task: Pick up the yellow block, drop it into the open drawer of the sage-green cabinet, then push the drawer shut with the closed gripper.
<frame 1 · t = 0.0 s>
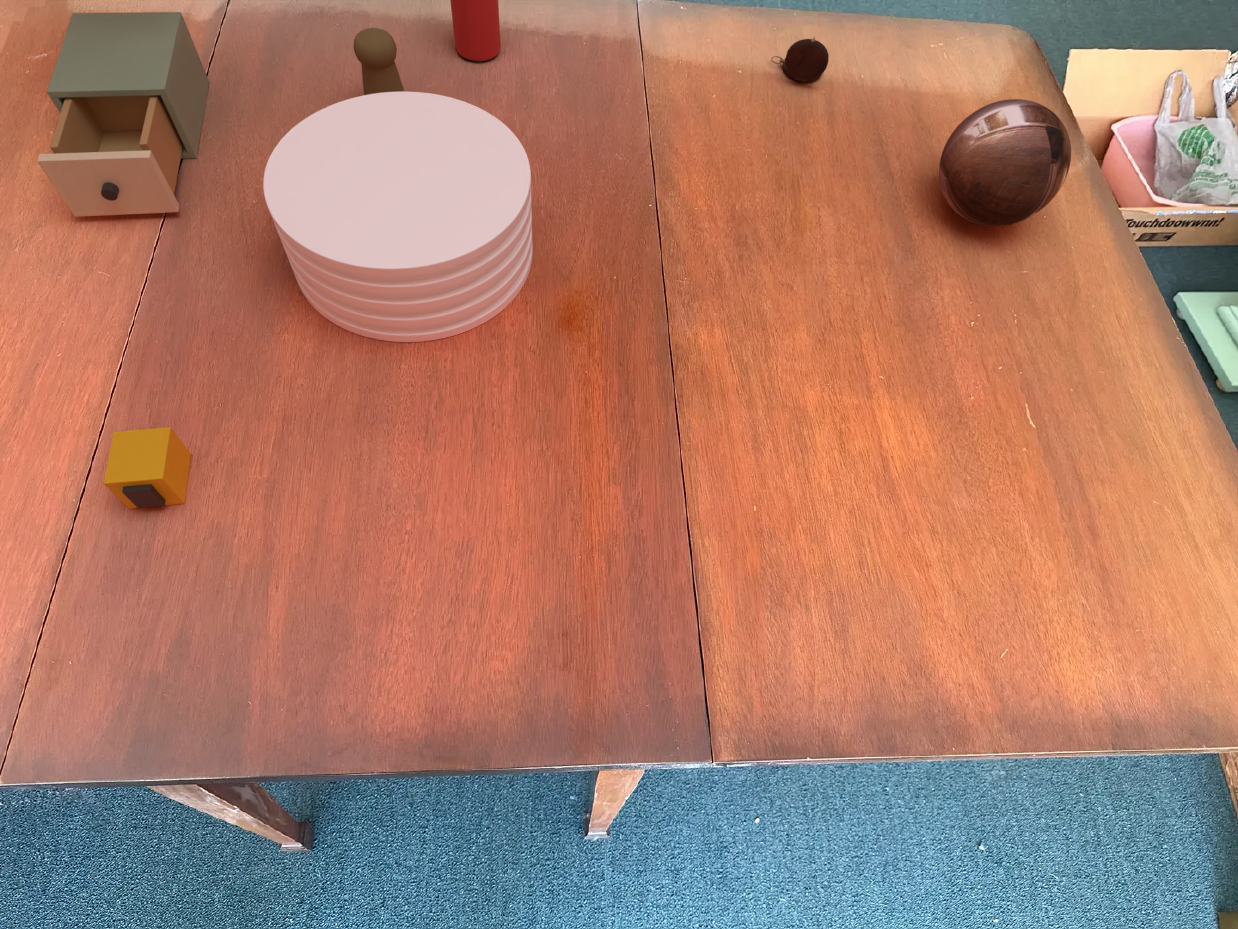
cabinet: (152, 120, 101), on the table
plate stack: (415, 252, 94), on the table
wooden sphere: (974, 211, 105), on the table
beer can: (478, 51, 115), on the table
drawer: (120, 149, 92), point 5 cm above the table, slide at 9.5 cm
compass: (794, 73, 118), on the table
brown knobbed cone: (388, 114, 106), on the table
yellow block: (160, 480, 76), on the table
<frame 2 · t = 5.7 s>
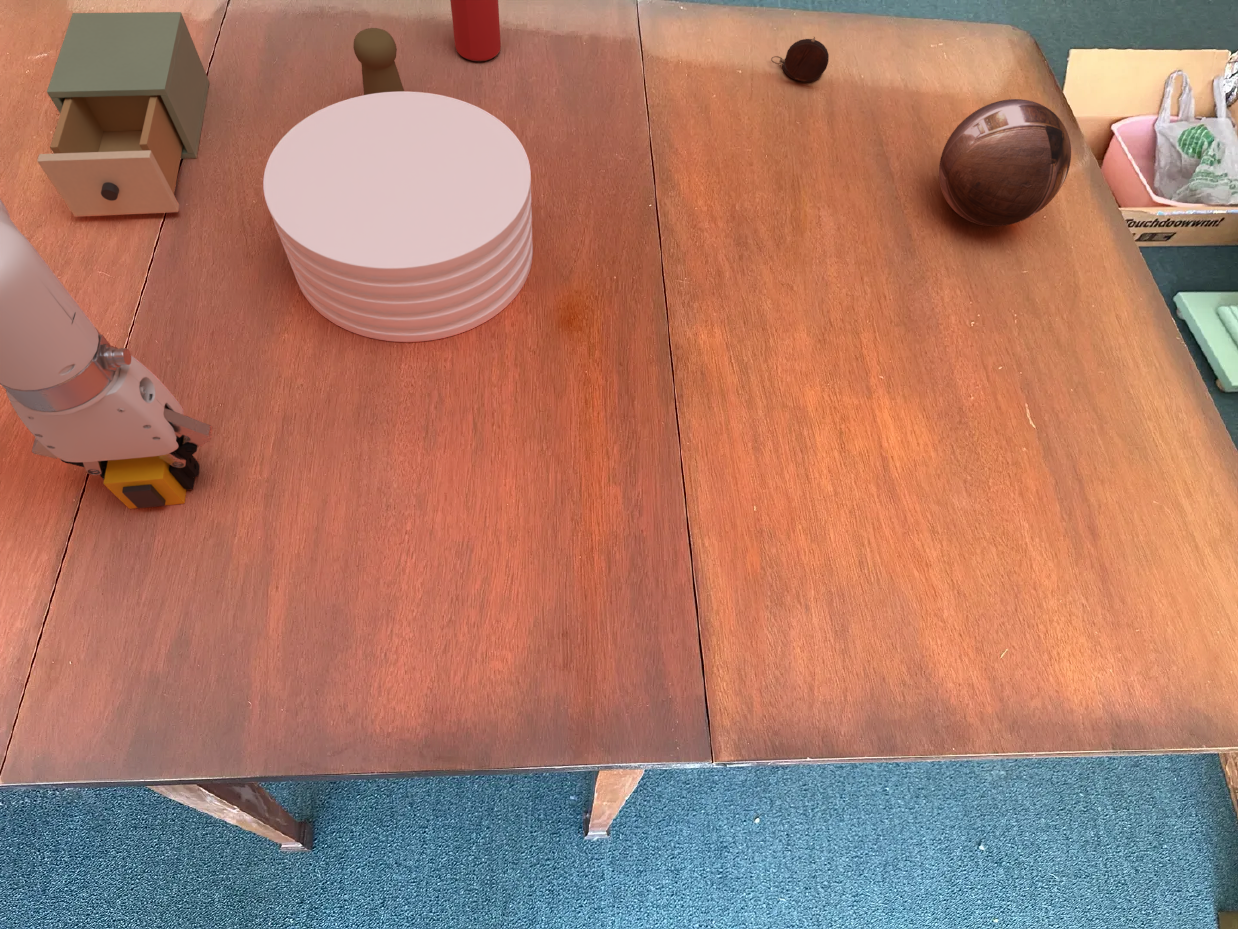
hand: (159, 478, 75), 0 cm above the table, tool pointing down, fingers closed on yellow block, 5 cm apart
yellow block: (160, 480, 76), on the table, touching gripper
everything else where it was.
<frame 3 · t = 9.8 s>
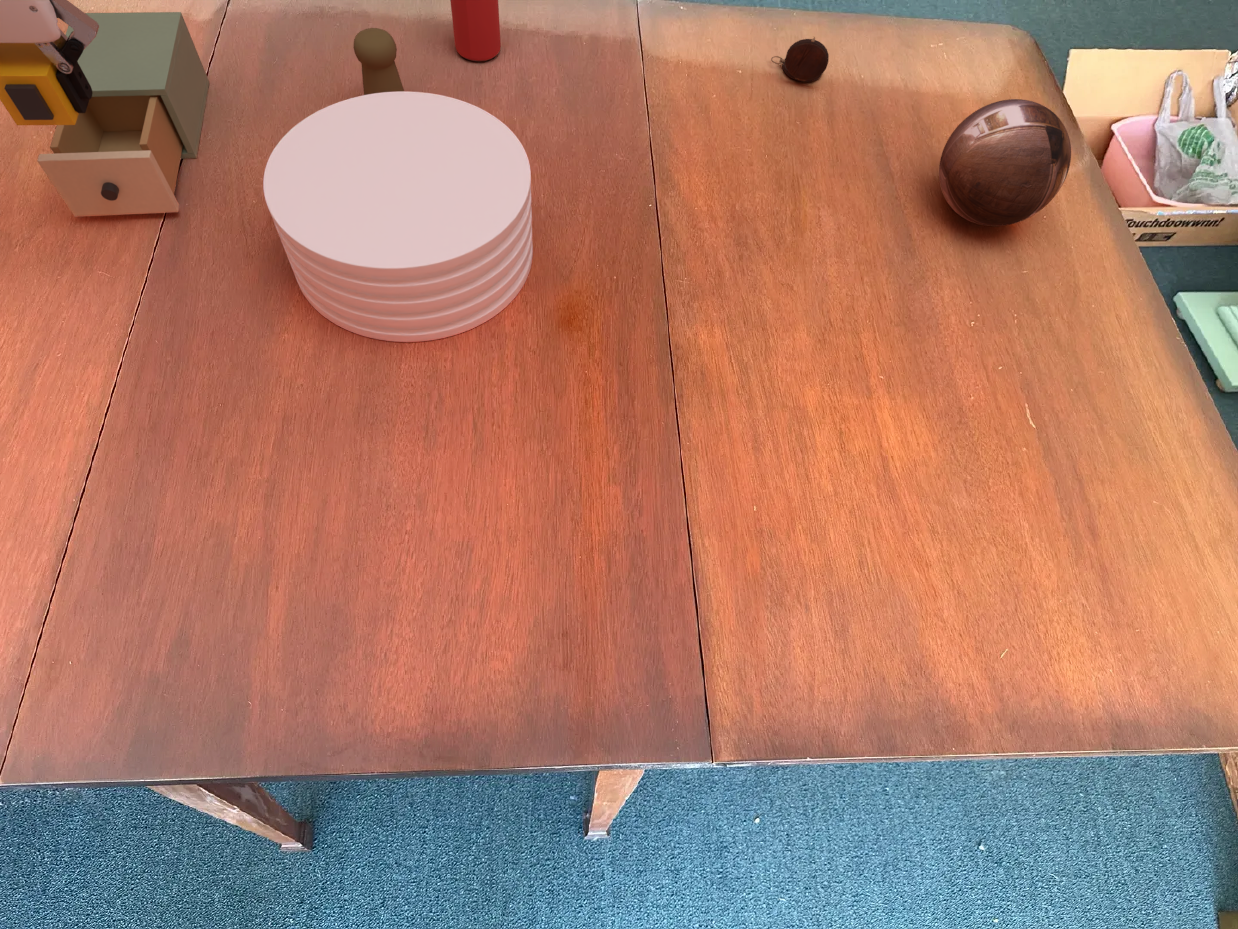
hand: (50, 102, 74), 19 cm above the table, tool pointing down, fingers closed on yellow block, 5 cm apart
yellow block: (53, 106, 74), point 19 cm above the table, touching gripper
everything else where it was.
when the fingers open (7 cm above the table, at t = 14.2 s): yellow block drops 4 cm, point 3 cm above the table.
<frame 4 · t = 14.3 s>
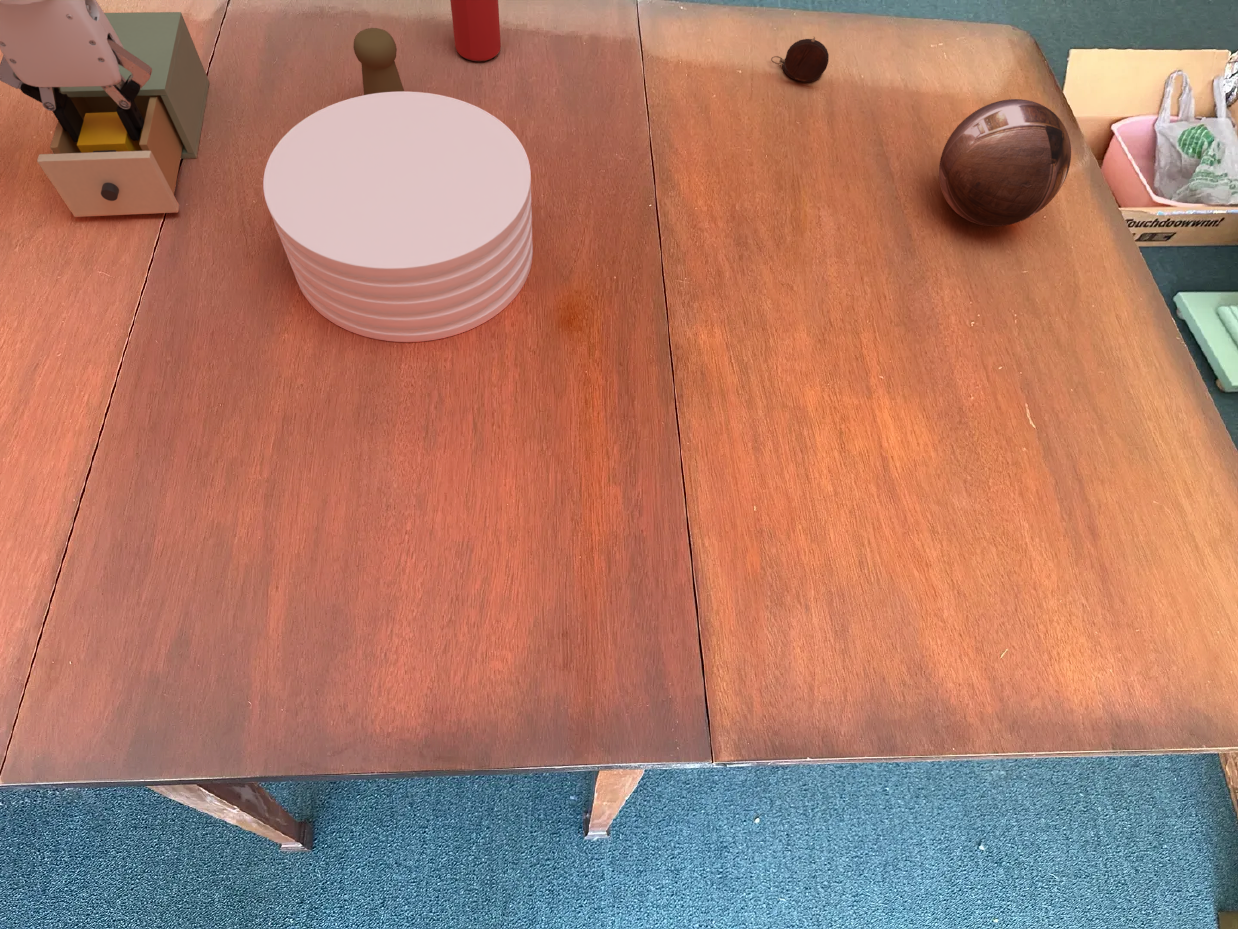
hand: (108, 132, 89), 7 cm above the table, tool pointing down, fingers open, 5 cm apart
drawer: (120, 149, 92), point 5 cm above the table, slide at 9.5 cm, touching gripper
yellow block: (125, 164, 93), point 3 cm above the table
everything else where it was.
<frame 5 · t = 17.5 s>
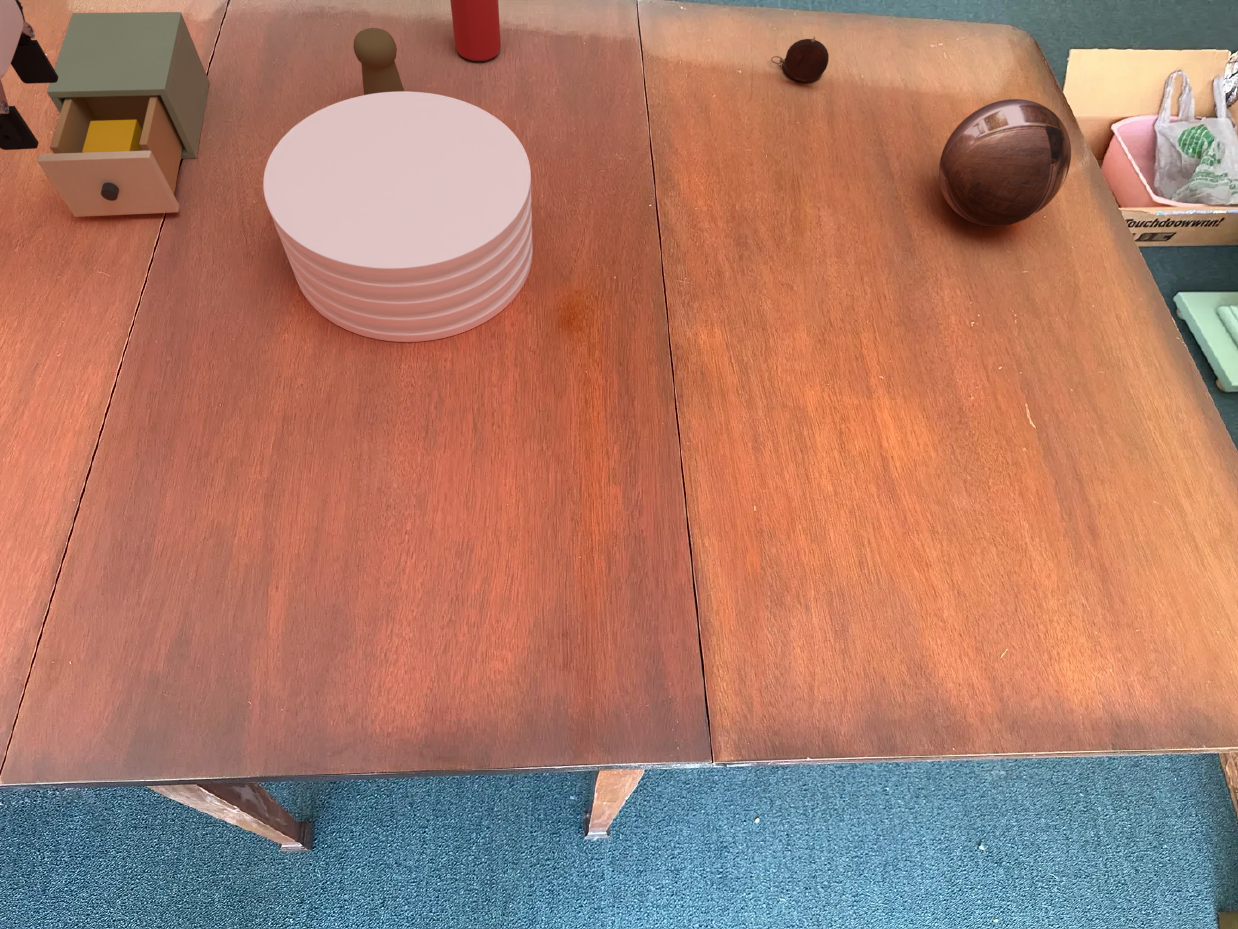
hand: (31, 113, 74), 19 cm above the table, tool pointing down, fingers open, 9 cm apart
drawer: (120, 149, 92), point 5 cm above the table, slide at 9.5 cm, touching yellow block
yellow block: (129, 171, 94), point 2 cm above the table, touching drawer
everything else where it was.
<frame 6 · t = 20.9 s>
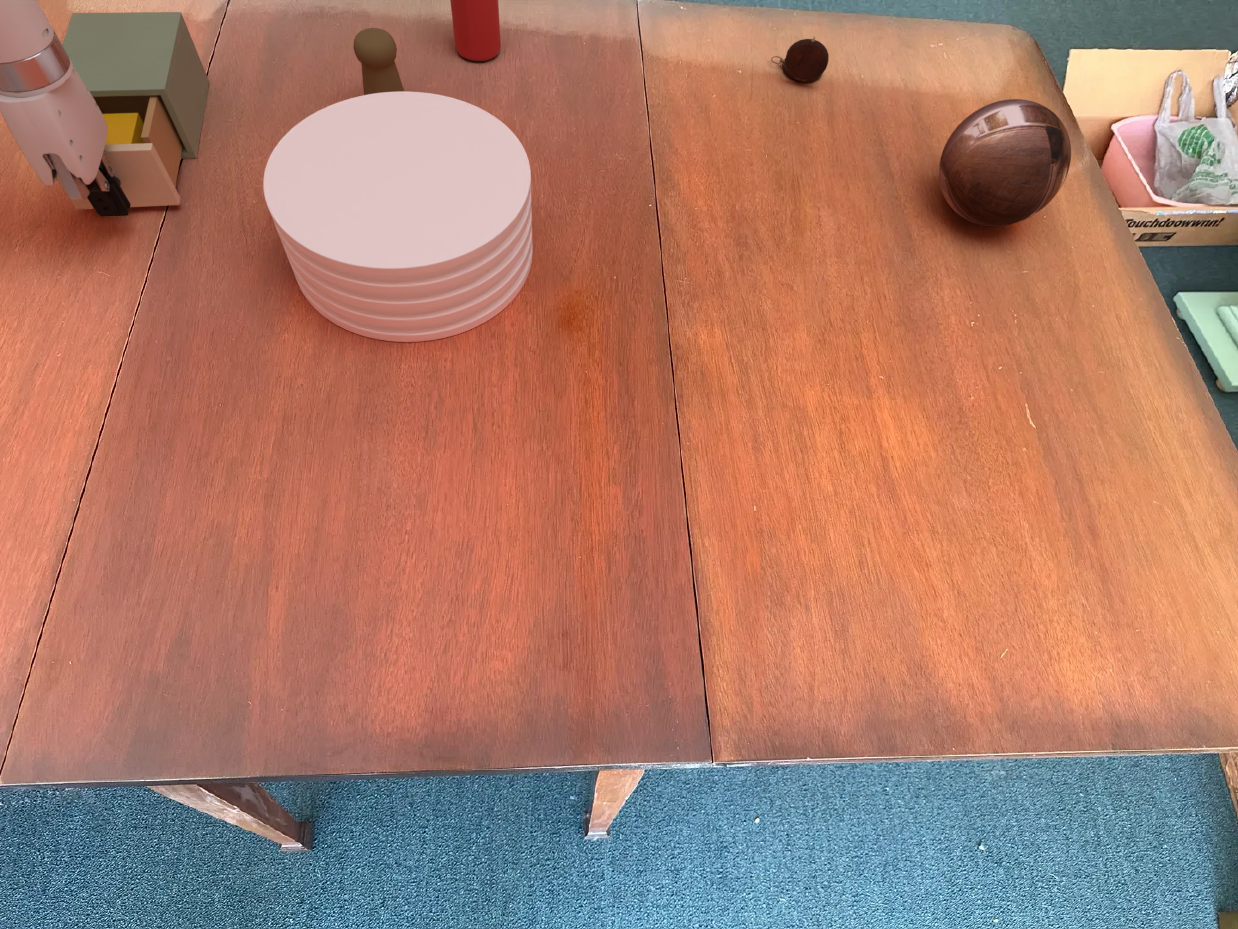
hand: (115, 211, 89), 3 cm above the table, tool pointing down, fingers closed
drawer: (121, 142, 92), point 5 cm above the table, slide at 8.3 cm, touching gripper, yellow block
yellow block: (131, 164, 94), point 2 cm above the table, touching drawer
everything else where it was.
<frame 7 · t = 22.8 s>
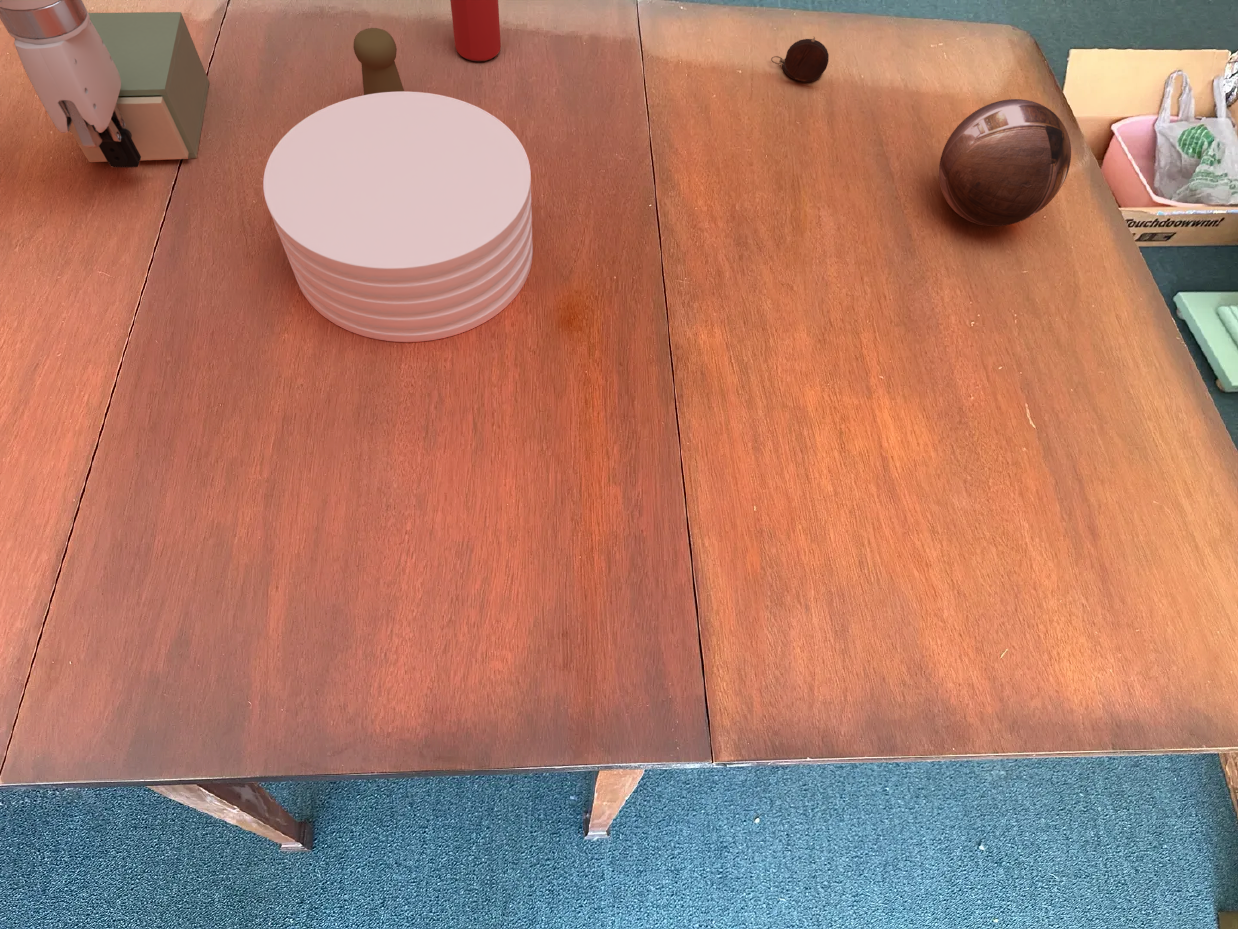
hand: (126, 162, 93), 3 cm above the table, tool pointing down, fingers closed
drawer: (132, 98, 96), point 5 cm above the table, slide at 0.0 cm, touching cabinet, gripper, yellow block
yellow block: (141, 120, 98), point 2 cm above the table, touching drawer
everything else where it was.
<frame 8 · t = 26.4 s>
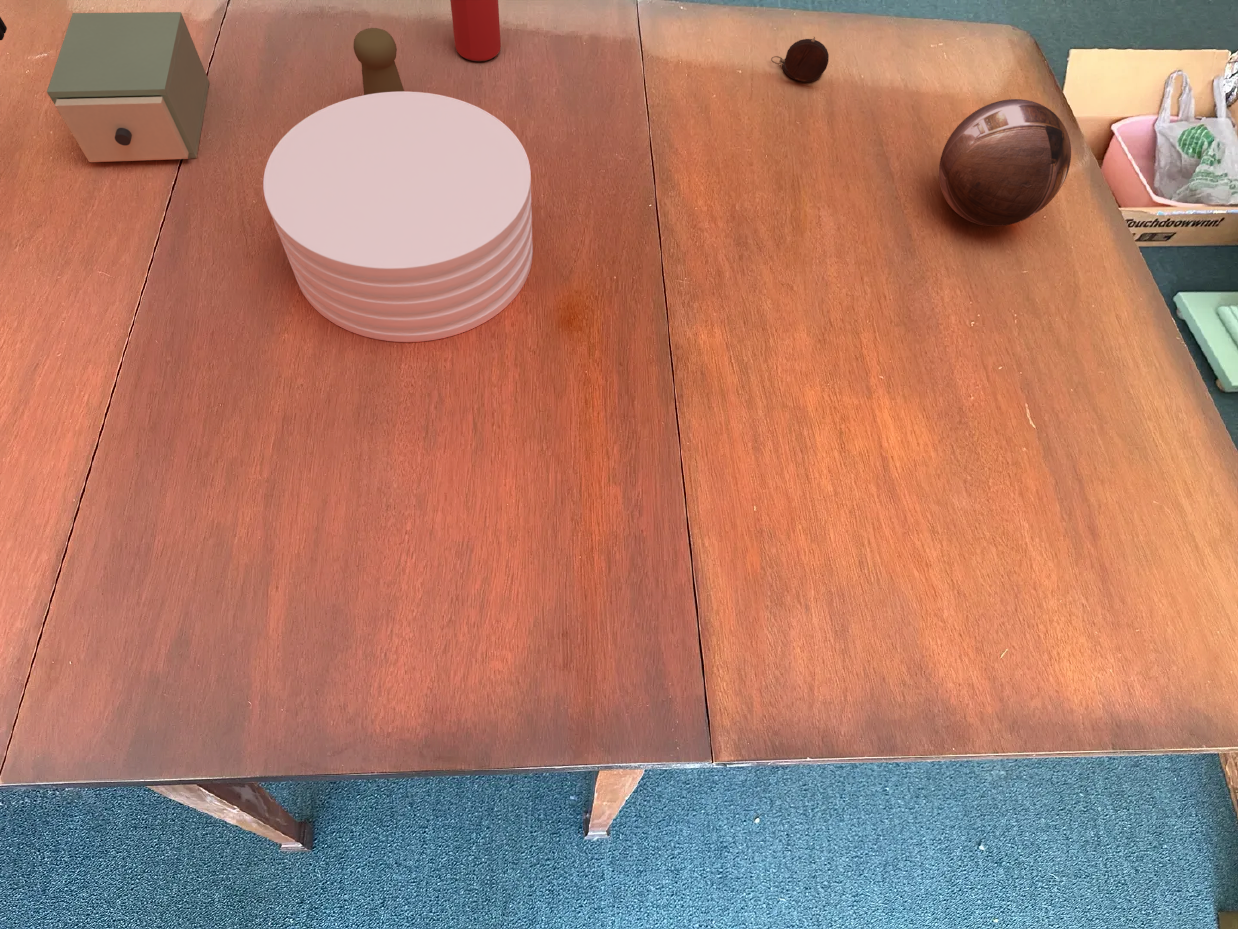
drawer: (132, 98, 96), point 5 cm above the table, slide at 0.0 cm, touching cabinet, yellow block
everything else where it was.
at the end: yellow block inside the target area in the cabinet (2.8 cm from its centre), point 2.0 cm above the cabinet's base; drawer slide at 0.0 cm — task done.
